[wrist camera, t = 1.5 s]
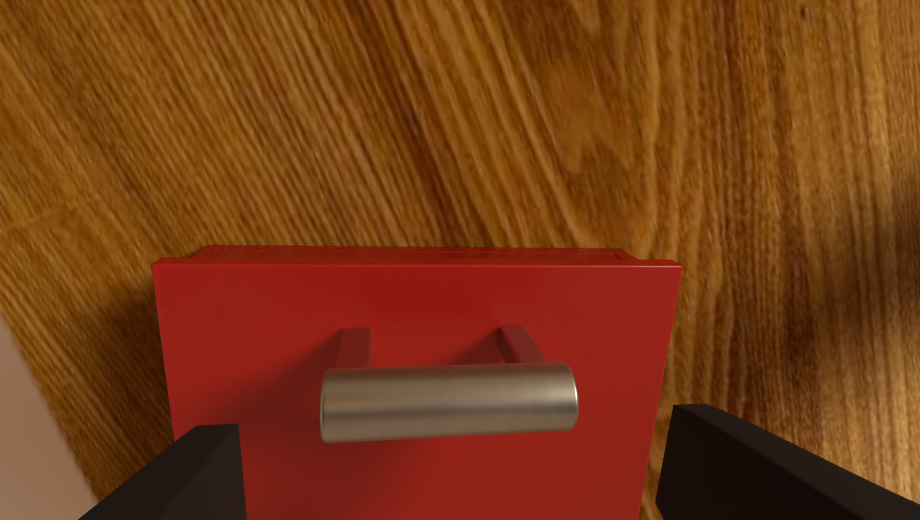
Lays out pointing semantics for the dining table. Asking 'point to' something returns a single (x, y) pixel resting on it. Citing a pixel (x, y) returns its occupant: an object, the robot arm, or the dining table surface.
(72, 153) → the dining table surface
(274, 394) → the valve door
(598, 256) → the red box base
